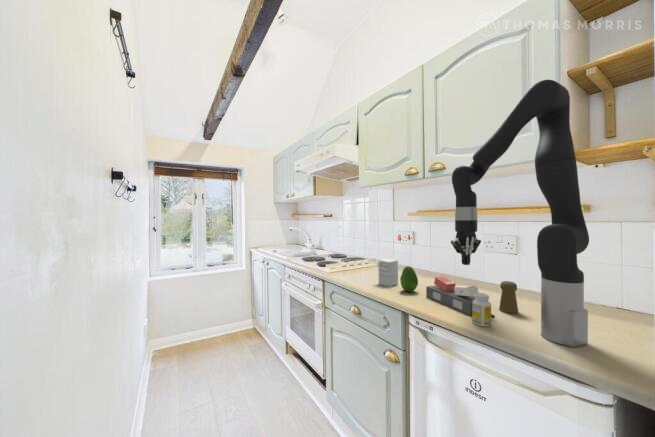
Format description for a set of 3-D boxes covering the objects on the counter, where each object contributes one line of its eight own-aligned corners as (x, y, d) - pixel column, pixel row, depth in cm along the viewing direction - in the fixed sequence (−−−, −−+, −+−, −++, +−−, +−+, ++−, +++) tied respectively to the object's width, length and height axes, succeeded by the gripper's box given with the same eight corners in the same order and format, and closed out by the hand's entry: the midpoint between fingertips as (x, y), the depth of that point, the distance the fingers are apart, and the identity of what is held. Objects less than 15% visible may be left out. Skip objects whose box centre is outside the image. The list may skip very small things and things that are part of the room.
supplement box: (386, 281, 144) (386, 258, 143) (398, 284, 138) (398, 260, 138) (378, 284, 139) (377, 259, 139) (389, 286, 133) (389, 261, 133)
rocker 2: (479, 294, 98) (477, 286, 99) (469, 296, 97) (467, 287, 97) (464, 293, 105) (462, 285, 105) (454, 294, 103) (453, 286, 104)
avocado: (397, 291, 124) (397, 266, 124) (404, 288, 130) (404, 263, 130) (414, 295, 119) (414, 268, 119) (420, 291, 125) (420, 265, 125)
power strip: (502, 318, 92) (502, 305, 92) (484, 322, 89) (484, 308, 89) (441, 295, 119) (441, 284, 119) (426, 296, 116) (426, 286, 116)
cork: (499, 312, 98) (499, 282, 97) (498, 307, 103) (498, 279, 103) (519, 315, 95) (520, 284, 95) (517, 309, 100) (517, 280, 100)
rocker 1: (454, 290, 109) (456, 283, 109) (445, 291, 108) (446, 284, 107) (442, 282, 116) (443, 276, 115) (433, 283, 114) (434, 277, 114)
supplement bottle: (473, 325, 87) (473, 295, 86) (471, 319, 91) (471, 291, 91) (492, 328, 84) (492, 297, 84) (489, 321, 89) (489, 293, 89)
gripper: (460, 219, 95) (460, 267, 95) (487, 219, 99) (487, 265, 100) (444, 219, 102) (444, 264, 102) (471, 218, 106) (471, 261, 107)
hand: (466, 264), depth 101 cm, fingers closed
